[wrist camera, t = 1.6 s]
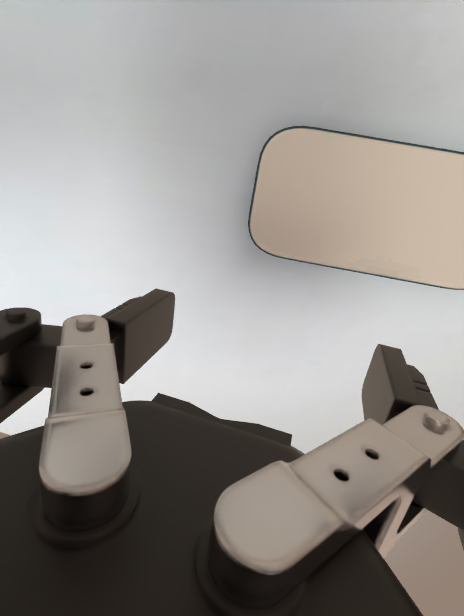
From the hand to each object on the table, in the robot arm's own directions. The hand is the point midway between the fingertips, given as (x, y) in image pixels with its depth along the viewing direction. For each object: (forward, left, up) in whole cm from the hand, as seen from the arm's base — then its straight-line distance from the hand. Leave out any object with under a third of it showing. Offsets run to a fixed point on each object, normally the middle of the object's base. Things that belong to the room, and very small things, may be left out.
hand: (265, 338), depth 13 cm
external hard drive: (+4, +9, -23) cm, 25 cm away
